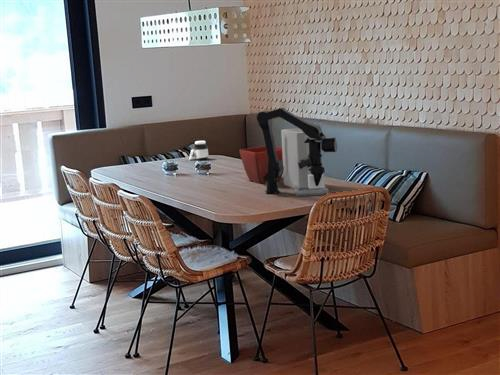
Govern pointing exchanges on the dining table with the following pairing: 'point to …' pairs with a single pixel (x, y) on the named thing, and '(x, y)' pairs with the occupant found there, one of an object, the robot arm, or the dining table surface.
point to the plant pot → (258, 162)
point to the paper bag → (294, 157)
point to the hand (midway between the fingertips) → (316, 184)
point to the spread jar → (200, 151)
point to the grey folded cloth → (310, 191)
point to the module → (312, 182)
